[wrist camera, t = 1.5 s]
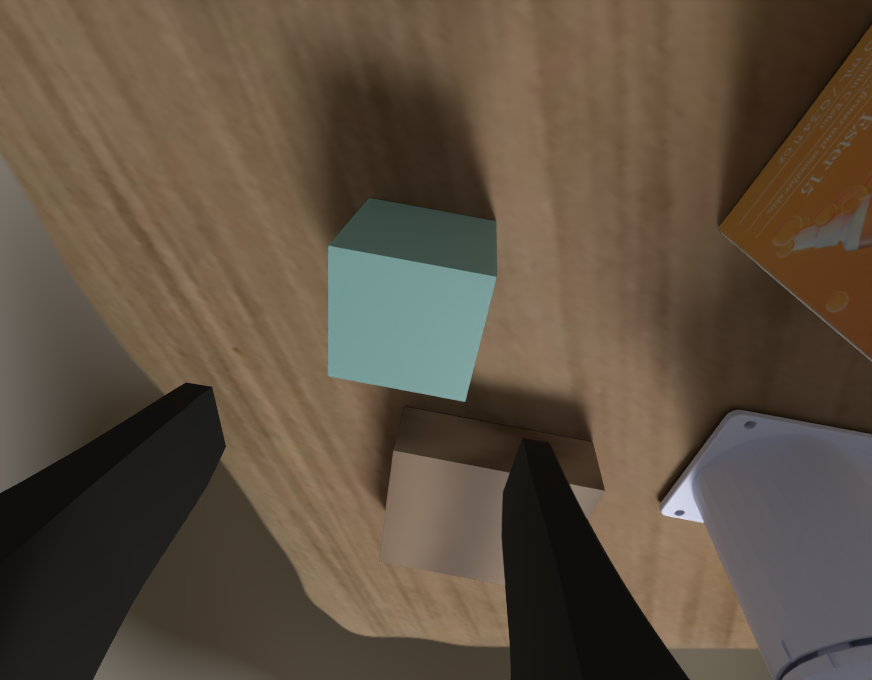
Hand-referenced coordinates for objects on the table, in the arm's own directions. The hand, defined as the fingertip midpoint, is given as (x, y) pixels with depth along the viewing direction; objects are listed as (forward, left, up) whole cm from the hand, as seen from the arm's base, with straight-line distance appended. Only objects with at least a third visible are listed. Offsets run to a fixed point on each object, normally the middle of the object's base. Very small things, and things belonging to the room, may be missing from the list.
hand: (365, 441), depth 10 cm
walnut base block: (-5, +13, -10) cm, 17 cm away
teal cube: (0, 0, -10) cm, 10 cm away
